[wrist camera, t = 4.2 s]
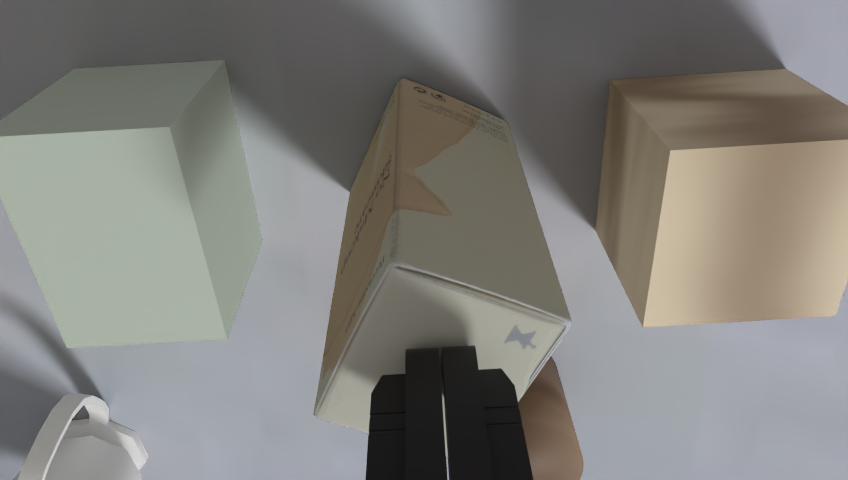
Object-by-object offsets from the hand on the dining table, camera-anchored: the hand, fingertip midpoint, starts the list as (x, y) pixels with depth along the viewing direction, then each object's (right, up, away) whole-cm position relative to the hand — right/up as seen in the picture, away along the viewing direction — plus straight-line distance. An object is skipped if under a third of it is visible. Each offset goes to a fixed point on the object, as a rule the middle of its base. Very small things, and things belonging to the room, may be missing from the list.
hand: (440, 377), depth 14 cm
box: (0, +6, +10) cm, 11 cm away
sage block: (-9, +6, +9) cm, 14 cm away
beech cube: (+9, +6, +10) cm, 15 cm away
